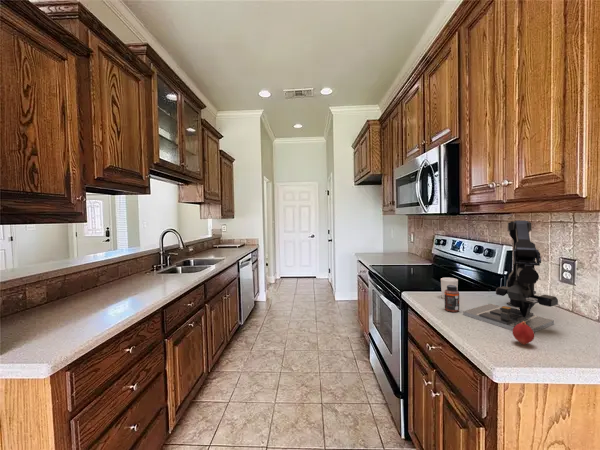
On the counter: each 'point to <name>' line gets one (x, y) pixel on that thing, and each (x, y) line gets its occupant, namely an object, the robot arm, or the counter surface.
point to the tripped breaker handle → (506, 309)
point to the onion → (523, 333)
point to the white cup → (447, 282)
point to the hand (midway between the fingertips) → (524, 317)
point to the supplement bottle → (452, 298)
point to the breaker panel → (530, 323)
